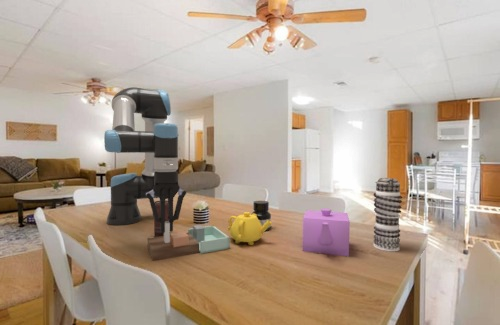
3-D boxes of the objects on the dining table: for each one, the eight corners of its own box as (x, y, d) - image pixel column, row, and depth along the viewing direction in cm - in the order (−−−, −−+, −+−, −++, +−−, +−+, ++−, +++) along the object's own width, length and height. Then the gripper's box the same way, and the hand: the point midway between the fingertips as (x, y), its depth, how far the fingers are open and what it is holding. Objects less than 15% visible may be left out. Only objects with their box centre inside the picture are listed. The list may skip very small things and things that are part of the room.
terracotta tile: (170, 242, 90) (170, 234, 90) (185, 240, 93) (185, 232, 93) (173, 247, 86) (173, 238, 86) (188, 244, 88) (188, 236, 88)
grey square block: (193, 225, 102) (200, 224, 103) (193, 238, 102) (200, 237, 103) (196, 229, 97) (204, 228, 99) (196, 242, 98) (204, 241, 99)
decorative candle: (390, 253, 89) (392, 180, 88) (366, 245, 97) (368, 178, 96) (406, 249, 93) (408, 179, 92) (382, 241, 102) (384, 177, 101)
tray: (188, 238, 103) (188, 228, 103) (213, 235, 108) (213, 225, 108) (201, 253, 88) (201, 242, 88) (229, 248, 93) (229, 237, 93)
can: (165, 237, 104) (165, 203, 104) (151, 236, 106) (151, 202, 105) (173, 233, 110) (173, 200, 110) (159, 232, 112) (159, 199, 111)
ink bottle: (259, 232, 112) (259, 204, 111) (246, 228, 118) (246, 201, 118) (275, 228, 118) (275, 202, 118) (261, 224, 125) (262, 199, 124)
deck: (147, 246, 95) (147, 238, 95) (188, 240, 102) (188, 232, 102) (152, 260, 83) (152, 251, 82) (199, 252, 90) (199, 243, 89)
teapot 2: (300, 259, 84) (300, 216, 84) (307, 235, 108) (307, 202, 108) (350, 265, 80) (351, 220, 79) (346, 239, 104) (346, 204, 103)
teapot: (272, 244, 98) (273, 214, 98) (239, 249, 92) (239, 218, 92) (255, 233, 111) (255, 207, 111) (225, 237, 105) (225, 210, 105)
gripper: (146, 172, 80) (147, 248, 81) (188, 170, 86) (189, 241, 87) (143, 170, 87) (144, 241, 88) (183, 169, 93) (183, 235, 94)
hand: (166, 241), depth 87 cm, fingers closed
